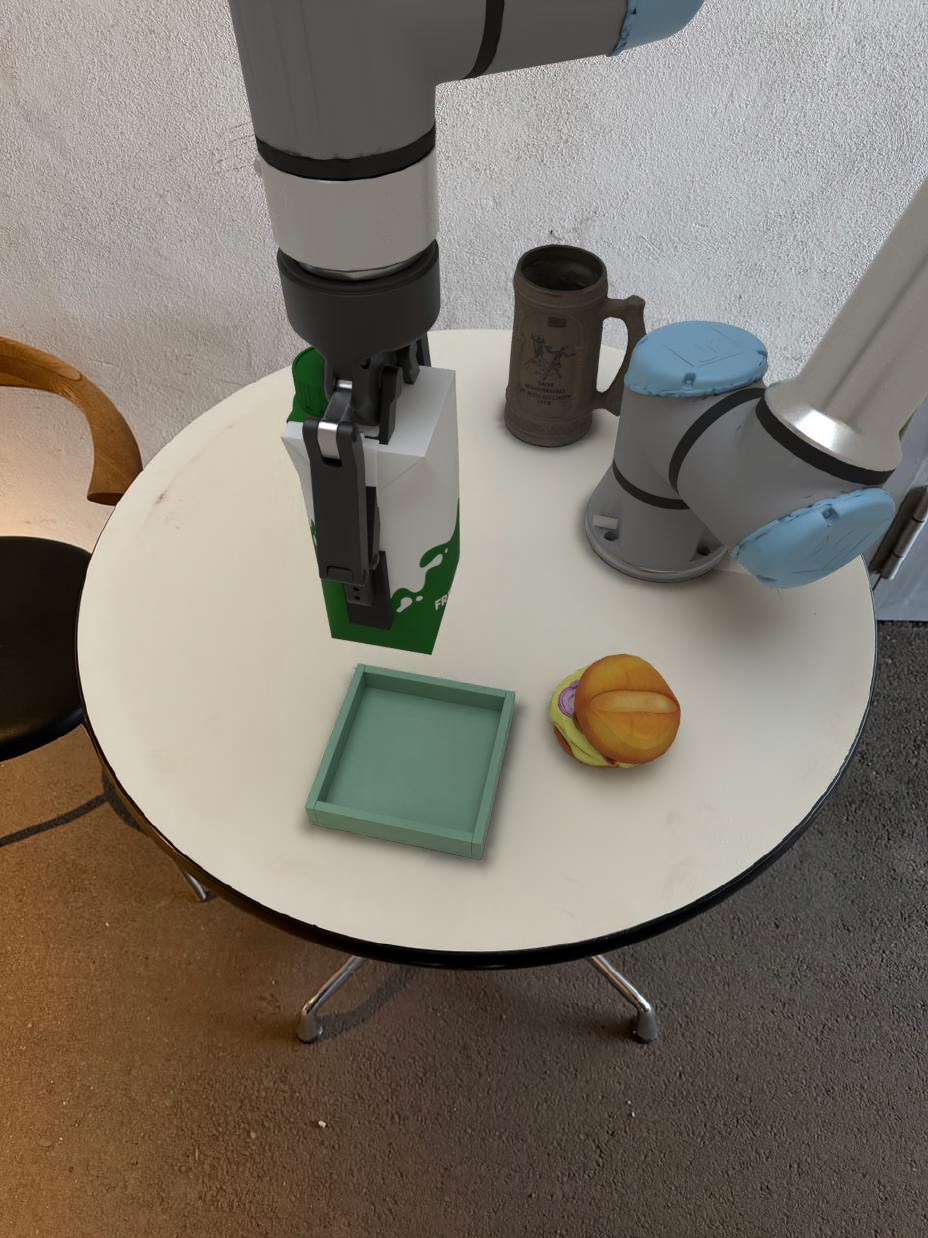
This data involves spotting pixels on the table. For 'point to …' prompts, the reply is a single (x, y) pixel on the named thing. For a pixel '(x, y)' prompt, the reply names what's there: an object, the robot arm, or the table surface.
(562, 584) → the table surface
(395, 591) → the soya milk
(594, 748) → the cheeseburger
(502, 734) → the tray
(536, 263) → the beer stein
